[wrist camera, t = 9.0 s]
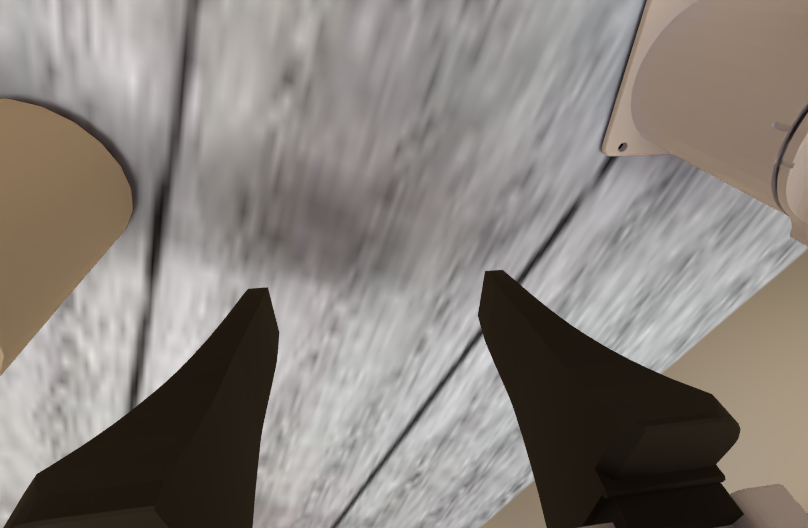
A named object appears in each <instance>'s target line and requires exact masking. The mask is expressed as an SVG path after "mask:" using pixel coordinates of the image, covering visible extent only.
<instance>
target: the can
mask: <svg viewBox="0 0 808 528" xmlns="http://www.w3.org/2000/svg"><path fill="white" fill-rule="evenodd" d="M132 212H133V205H132V193H131V188H130V186H129V183H128V181H127V179H126V177H125V175H124V173H123V170H122V168H121V166H120V165H119V164H118V163H117V161H116V160H115V159H114V158H113V157H112V155H111V154H110V153H109V152H108V151H107V149H106V148H105V147H104V146H103V145H102V143H101V142H99V141H98V140H97V139H95V138H94V137H93V136H91V135H90V134H89V133H87V132H86V131H85V130H84V129H82V128H81V127H80V126H78V125H77V124H76V123H74V122H73V121H70V120H68V119H66V118H64V117H62V116H60V115H58V114H56V113H54V112H52V111H50V110H47V109H45V108H43V107H41V106H37V105H33V104H28V103H24V102H20V101H15V100H11V99H0V376H1V375H2V374H3V372H4V371H5V370H6V369H7V368H8V367H9V365H10V364H11V363H12V362H13V361H14V359H15V358H16V357H17V356H18V355H19V354H20V352H21V351H22V350H23V349H24V348H25V347H26V345H27V344H28V343H29V342H30V341H31V339H32V338H33V337H34V336H35V335H36V334H37V332H38V331H39V330H40V329H41V328H42V327H43V325H44V324H45V323H46V322H47V321H48V320H49V318H50V317H51V316H52V315H53V314H54V312H55V311H56V310H57V309H58V308H59V307H60V305H61V304H62V303H63V302H64V301H65V300H66V298H67V297H68V296H69V295H70V294H71V292H72V291H73V290H74V289H75V288H76V287H77V285H78V284H79V283H80V282H81V281H82V280H83V278H84V277H85V276H86V275H87V274H88V272H89V271H90V270H91V269H92V268H93V267H94V265H95V264H96V263H97V262H98V261H99V260H100V258H101V257H102V256H103V255H104V254H105V253H106V251H107V250H108V249H109V248H110V247H111V245H112V244H113V243H114V242H115V241H116V240H117V238H118V237H119V236H120V235H121V234H122V233H123V231H124V230H125V229H126V228H127V225H128V222H129V220H130V217H131V214H132Z"/></svg>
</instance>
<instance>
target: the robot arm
mask: <svg viewBox="0 0 808 528" xmlns="http://www.w3.org/2000/svg"><path fill="white" fill-rule="evenodd" d="M622 143H623V146H622V147H621V148H620V149H618V147H619V145H620V144H622ZM602 151H603V153H605V154H606V155H607V156H629V155H653V154H673V155H675V156H677V157H679V158H681V159H682V160H684V161H686V162H688V163H690V164H692V165H694V166H696V167H697V168H699V169H701V170H703V171H705V172H707V173H709V174H711V175H712V176H714V177H716V178H718V179H720V180H722V181H724V182H726V183H727V184H729V185H731V186H733V187H735V188H737V189H739V190H741V191H742V192H744V193H746V194H748V195H750V196H752V197H754V198H756V199H757V200H759V201H761V202H763V203H765V204H767V205H769V206H771V207H773V208H774V209H776V210H778V211H780V212H782V213H784V214H786V215H788V216H789V217H790V218H791V221H792V229H791V233H790V237H792V238H794V239H795V240H797V241H799V242H801V243H802V244H804V245H806V246H807V247H808V0H647V2H646V6H645V9H644V12H643V15H642V18H641V22H640V25H639V28H638V31H637V35H636V38H635V41H634V44H633V48H632V51H631V54H630V57H629V61H628V64H627V67H626V70H625V74H624V77H623V80H622V83H621V86H620V90H619V93H618V96H617V99H616V103H615V106H614V109H613V112H612V116H611V119H610V122H609V125H608V129H607V132H606V135H605V138H604V142H603V145H602ZM478 317H479V321H480V325H481V329H482V332H483V335H484V339H485V342H486V344H487V347H488V349H489V351H490V354H491V356H492V358H493V361H494V363H495V365H496V368H497V370H498V372H499V375H500V377H501V379H502V381H503V384H504V386H505V388H506V391H507V393H508V395H509V398H510V400H511V403H512V405H513V408H514V411H515V414H516V417H517V421H518V424H519V427H520V430H521V433H522V436H523V440H524V443H525V447H526V450H527V453H528V457H529V460H530V464H531V467H532V471H533V475H534V479H535V482H536V486H537V490H538V493H539V497H540V502H541V506H542V510H543V514H544V518H545V522H546V526H547V528H808V513H807V512H806V511H805V510H804V509H803V508H802V507H801V505H800V504H799V503H798V502H797V501H796V500H795V499H794V498H793V496H792V495H791V494H790V493H789V492H788V491H787V489H786V488H785V487H784V486H783V485H780V484H774V485H767V486H761V487H754V488H747V489H742V490H738V491H736V492H734V493H731V494H730V495H729V493H728V492H727V491H726V489H725V488H724V487H723V485H722V484H721V483H720V482H723V481H724V480H725V476H724V474H723V473H722V472H721V470H719V468H718V467H717V465H716V464H717V462H718V461H719V460H720V459H721V458H722V457H723V456H724V455H725V454H726V453H727V452H728V451H729V450H730V448H731V447H732V446H733V445H734V444H735V442H736V441H737V440H738V437H739V434H740V427H739V424H738V423H737V422H736V420H735V419H734V418H733V417H732V416H731V415H730V414H729V413H728V411H727V410H726V409H725V408H724V407H723V406H722V405H721V404H720V403H719V401H718V400H717V399H716V398H715V397H714V396H713V395H712V394H710V393H707V392H704V391H702V390H699V389H697V388H694V387H692V386H689V385H686V384H684V383H681V382H678V381H676V380H673V379H671V378H668V377H666V376H664V375H662V374H659V373H657V372H655V371H653V370H650V369H648V368H646V367H644V366H642V365H640V364H638V363H635V362H633V361H631V360H629V359H627V358H626V357H624V356H622V355H620V354H618V353H616V352H614V351H612V350H610V349H609V348H607V347H605V346H603V345H602V344H600V343H598V342H597V341H595V340H593V339H592V338H590V337H589V336H587V335H585V334H584V333H582V332H581V331H579V330H578V329H576V328H575V327H573V326H572V325H570V324H569V323H567V322H566V321H565V320H563V319H562V318H561V317H559V316H558V315H556V314H555V313H554V312H553V311H551V310H550V309H549V308H547V307H546V306H545V305H544V304H542V303H541V302H540V301H539V300H537V299H536V298H535V297H534V296H533V295H531V294H530V293H529V292H528V291H527V290H525V289H524V288H523V287H522V286H521V285H520V284H518V283H517V282H516V281H515V280H514V279H513V278H511V277H510V276H509V275H508V274H507V273H506V272H504V271H503V270H495V271H485V275H484V281H483V287H482V294H481V300H480V306H479V312H478ZM278 342H279V330H278V326H277V322H276V318H275V314H274V310H273V306H272V302H271V298H270V294H269V290H268V287H267V288H254V289H248V290H247V291H246V292H245V293H244V294H243V296H242V297H241V298H240V300H239V301H238V302H237V304H236V305H235V306H234V307H233V309H232V310H231V311H230V313H229V314H228V315H227V316H226V318H225V319H224V320H223V321H222V323H221V324H220V325H219V326H218V327H217V329H216V330H215V331H214V332H213V334H212V335H211V336H210V337H209V338H208V339H207V341H206V342H205V343H204V344H203V345H202V346H201V347H200V348H199V349H198V350H197V351H196V353H195V354H194V355H193V356H192V357H191V358H190V359H189V360H188V361H187V362H186V363H185V364H184V365H183V366H182V367H181V368H180V369H179V370H178V371H177V372H176V373H175V374H174V375H173V376H172V377H171V378H170V379H169V380H168V381H166V382H165V383H164V384H163V385H162V386H161V387H160V388H159V389H157V390H156V391H155V392H154V393H152V394H151V395H150V396H149V397H148V398H146V399H145V400H144V401H143V402H141V403H140V404H139V405H138V406H137V407H135V408H134V409H133V410H132V411H130V412H129V413H128V414H126V415H125V416H124V417H122V418H121V419H120V420H118V421H117V422H116V423H114V424H113V425H112V426H110V427H109V428H107V429H106V430H105V431H103V432H102V433H100V434H99V435H97V436H96V437H95V438H93V439H92V440H90V441H89V442H87V443H86V444H84V445H83V446H81V447H80V448H78V449H76V450H75V451H73V452H72V453H70V454H68V455H67V456H65V457H64V458H62V459H61V460H59V461H57V462H56V463H54V464H53V465H51V466H50V467H48V468H46V469H45V470H43V471H41V472H40V473H38V474H37V475H36V476H35V478H34V479H33V481H32V482H31V484H30V485H29V487H28V488H27V490H26V491H25V493H24V494H23V496H22V498H21V499H20V501H19V503H18V504H17V506H16V508H15V509H14V511H13V513H12V514H11V516H10V518H9V519H8V521H7V523H6V524H5V526H4V528H252V527H253V514H254V501H255V490H256V479H257V469H258V460H259V451H260V442H261V435H262V429H263V423H264V419H265V414H266V409H267V405H268V400H269V396H270V391H271V387H272V382H273V377H274V372H275V368H276V363H277V354H278Z"/></svg>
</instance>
